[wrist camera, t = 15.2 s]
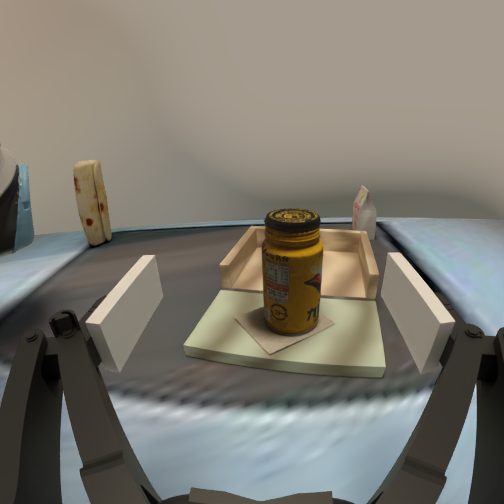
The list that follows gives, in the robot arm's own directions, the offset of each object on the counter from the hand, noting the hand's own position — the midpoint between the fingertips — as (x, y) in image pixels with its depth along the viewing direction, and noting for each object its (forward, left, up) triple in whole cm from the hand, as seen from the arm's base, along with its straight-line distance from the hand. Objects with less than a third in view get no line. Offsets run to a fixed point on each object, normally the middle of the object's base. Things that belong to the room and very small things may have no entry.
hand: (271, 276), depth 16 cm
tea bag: (+10, +47, -14) cm, 50 cm away
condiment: (-1, +12, -12) cm, 17 cm away
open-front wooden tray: (-1, +20, -14) cm, 24 cm away
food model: (-49, +35, -14) cm, 61 cm away
